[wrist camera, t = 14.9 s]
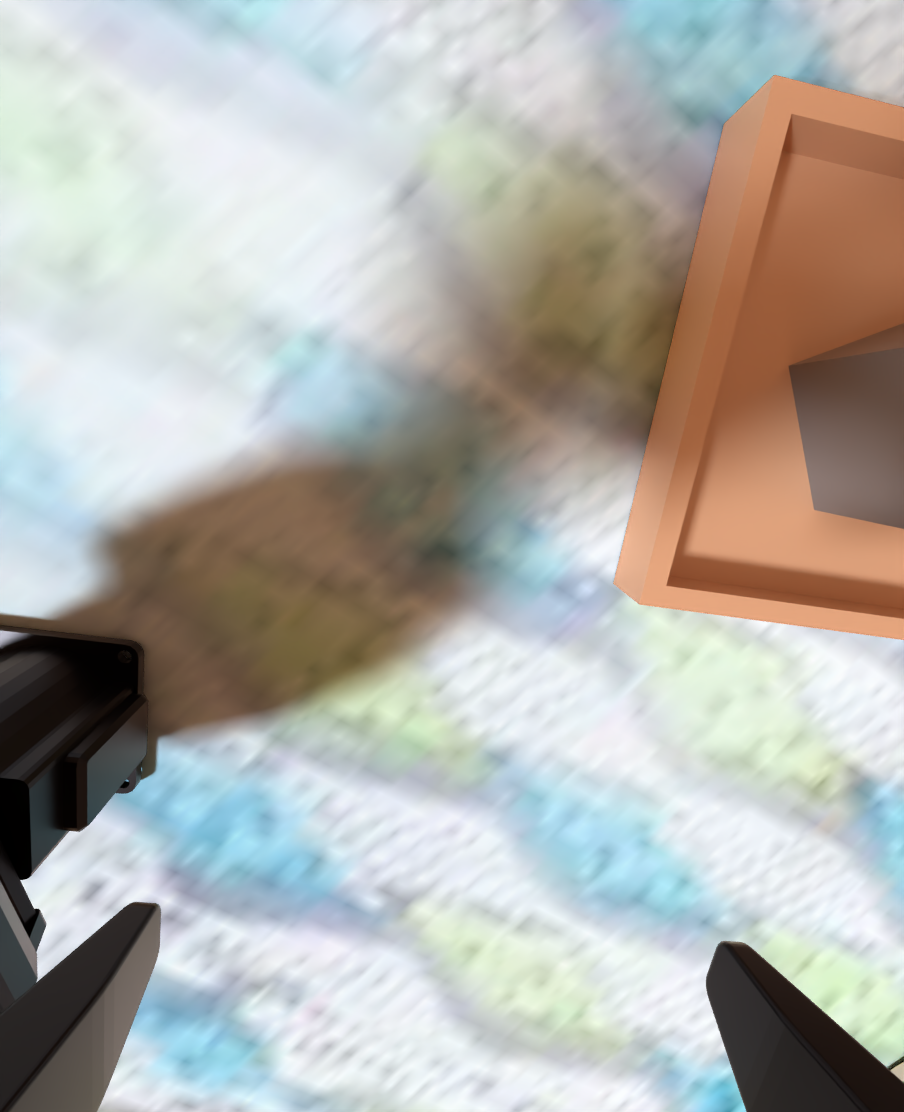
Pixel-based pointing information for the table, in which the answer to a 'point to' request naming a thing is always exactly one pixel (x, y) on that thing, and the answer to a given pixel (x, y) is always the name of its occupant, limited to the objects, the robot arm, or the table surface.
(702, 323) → the tray
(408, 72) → the table surface
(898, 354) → the beige rectangular block
